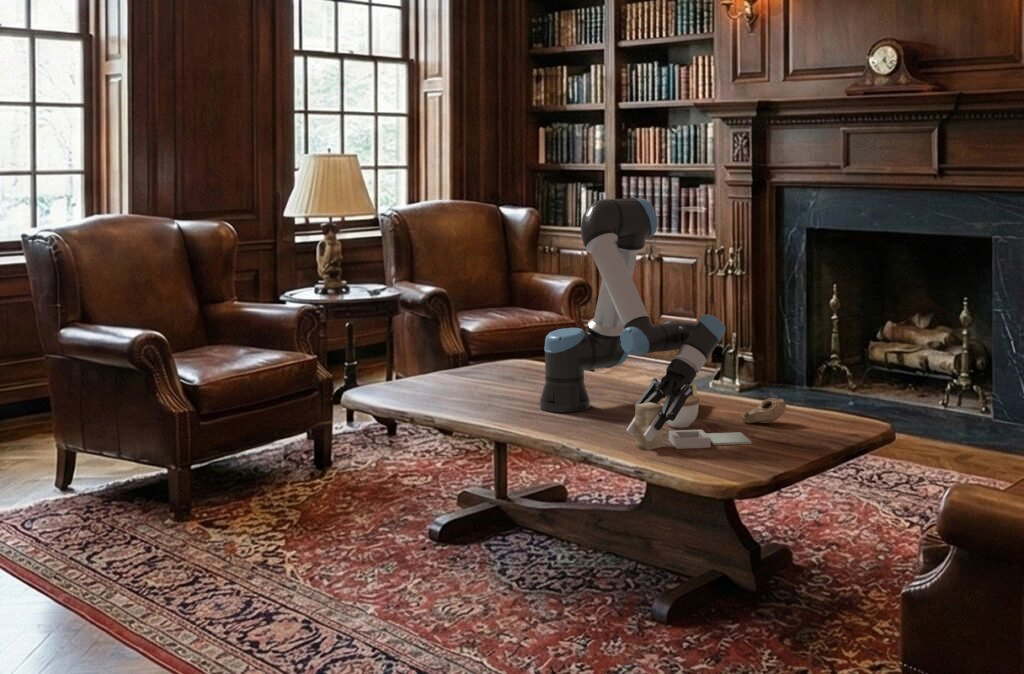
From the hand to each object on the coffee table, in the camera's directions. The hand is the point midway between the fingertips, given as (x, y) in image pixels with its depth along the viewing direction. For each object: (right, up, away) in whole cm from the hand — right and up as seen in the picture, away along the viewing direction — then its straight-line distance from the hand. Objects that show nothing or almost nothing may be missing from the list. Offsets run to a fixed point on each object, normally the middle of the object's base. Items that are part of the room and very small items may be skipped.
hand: (638, 435), depth 293 cm
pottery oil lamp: (+38, +1, +25) cm, 45 cm away
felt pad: (+25, -2, +8) cm, 26 cm away
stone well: (+14, -2, +4) cm, 15 cm away
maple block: (+3, -3, +3) cm, 5 cm away
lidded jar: (+14, +1, +24) cm, 28 cm away
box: (+18, +3, +40) cm, 44 cm away
